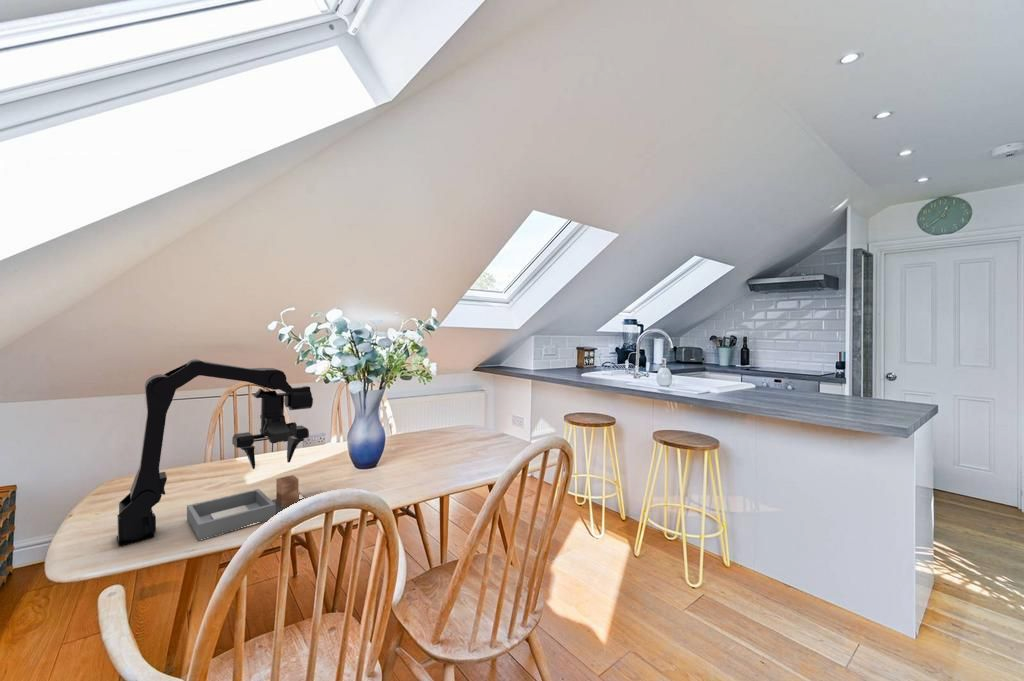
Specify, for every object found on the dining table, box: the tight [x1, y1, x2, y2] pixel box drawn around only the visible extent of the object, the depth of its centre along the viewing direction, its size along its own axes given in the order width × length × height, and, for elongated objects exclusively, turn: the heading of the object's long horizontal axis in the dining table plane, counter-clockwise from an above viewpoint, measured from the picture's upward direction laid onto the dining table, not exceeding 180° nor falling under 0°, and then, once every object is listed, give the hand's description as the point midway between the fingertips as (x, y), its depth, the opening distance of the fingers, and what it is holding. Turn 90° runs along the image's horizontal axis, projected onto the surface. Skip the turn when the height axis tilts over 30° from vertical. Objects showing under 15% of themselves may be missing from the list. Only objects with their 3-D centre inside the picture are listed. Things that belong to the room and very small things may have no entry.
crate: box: [186, 488, 277, 541], centre depth 114 cm, size 17×15×4 cm
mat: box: [270, 495, 305, 514], centre depth 124 cm, size 10×10×1 cm
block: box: [275, 474, 300, 507], centre depth 124 cm, size 4×4×7 cm
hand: (271, 465), depth 124 cm, fingers open, 9 cm apart
